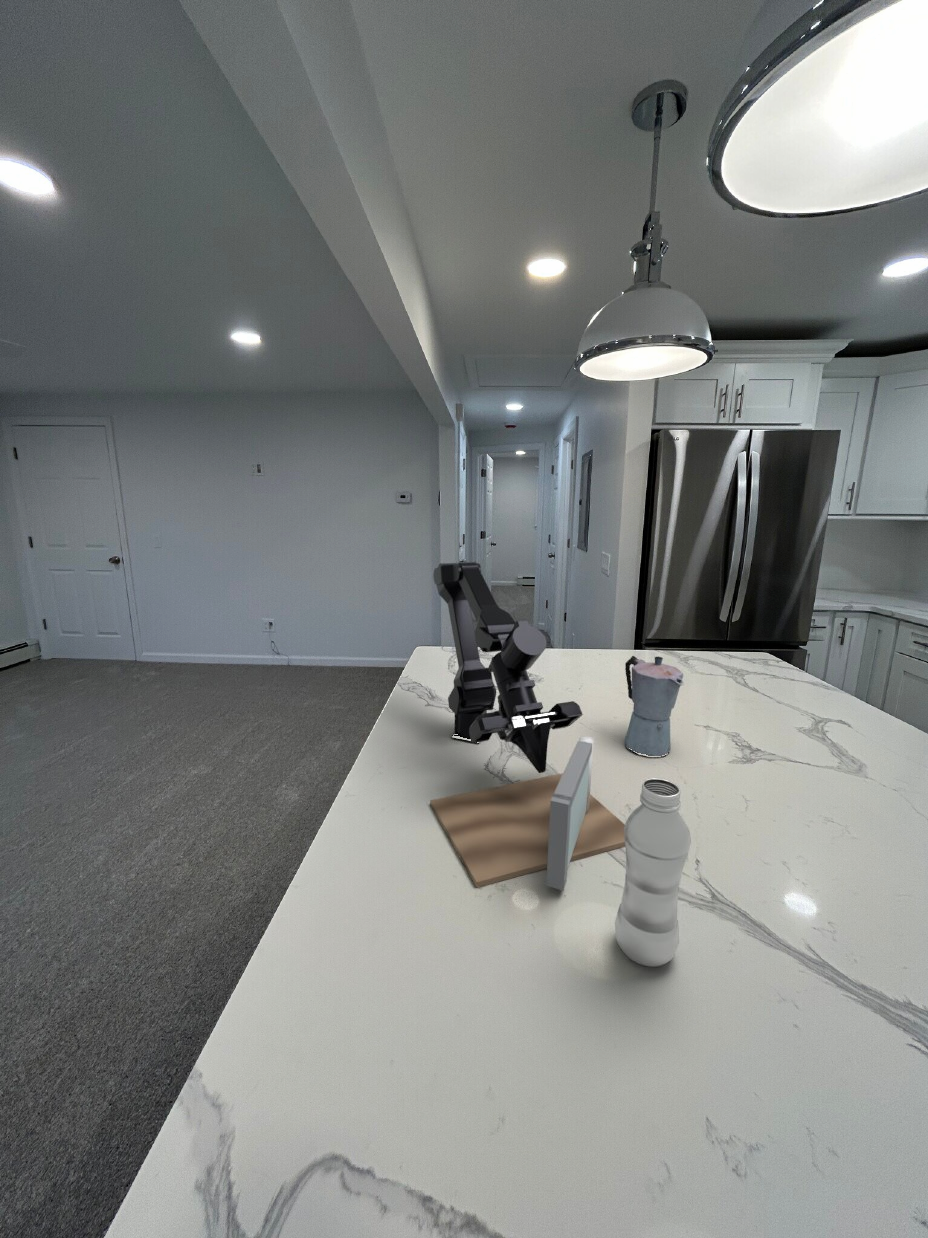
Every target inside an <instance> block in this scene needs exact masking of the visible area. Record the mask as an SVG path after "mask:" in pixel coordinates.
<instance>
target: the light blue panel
mask: <svg viewBox="0 0 928 1238" xmlns="http://www.w3.org/2000/svg"><path fill="white" fill-rule="evenodd" d="M594 742H595V741H594V738H593V737H590V736H585V735H584V736H583V735H582V736H580V737H579V738H578V740H577V742H576V745H575V746H574V748H573V751H572V753H571V755H570V756H569V757H570V758H569V759H568V762H567V764H566V766H565V767H564V771H563V772H562V773H563V775H562V777H561V779H560V781H559V783H558V786H557V788H556V790H555V792H554V794H553V796H552V799H551V803H550V823H549V843H548V864H547V868H546V884H545V886H547V887H549V888H554V889H557V890H560V891H565V887H566V884H567V882H568V881H567V880H568V879H567V877H568V869H569V865H570V863H571V862H570V859H571V856H572V853H573V850H574V847H575V844H576V841H577V838H578V835H579V832H580V828H581V825H582V822H583V819H584V816H585V813H586V812H588V811H589V800H590V794H591V785H592V768H593V755H594V754H593V753H594Z"/></svg>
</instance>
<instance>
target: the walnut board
mask: <svg viewBox="0 0 928 1238" xmlns="http://www.w3.org/2000/svg"><path fill="white" fill-rule="evenodd" d="M562 775H563V772H562V773H557V774H553V775H548V776H543V777H538V778H533V779H528V780H523V781H519V782H512V783H509V784H504V785H500V786H499V785H498V786H494V787H489V788H484V789H479V790H475V791H469V792H464V793H460V794H455V795H451V796H446V797H440V798H435V799H431V800H430V801H429V803H430V804H429V805H430V807H431V809H432V810H433V812H434V814H435V816H436V818H437V820H438V821H439V823H440V825H441V827H442V828H443V830H444V832H445V834H446V835H447V837H448V839H449V841H450V843H451V844H452V846H453V848H454V851H455V852H456V853H457V855H458V857H459V859H460V861H461V862H462V864H463V866H464V868H465V869H466V872H467V873H468V875H469V877H470V878H471V880H472V882H473V884H474V886H475V887H476V888H480V887H483V886H485V887H486V886H488V885H492V884H495V883H499V882H503V881H506V880H510V879H513V878H516V877H520V876H523V875H526V874H531V873H535V872H539V871H542V870H545V869H546V870H547V864H548V843H549V823H550V803H551V799H552V796H553V794H554V792H555V790H556V788H557V786H558V783H559V781H560V779H561V777H562ZM624 833H625V823H624V822H623V821H622V820H621V819H619V818H618V817H617V816H616V815H615V814H614V813H613V812H611V811H610V810H609V809H608V808H607V807H606V806H604V804H602V803H601V801H599V800H598V799H596V797H594V796H593V795H592V794H591V793H590V800H589V811H588V812H586V813H585V816H584V819H583V822H582V825H581V828H580V832H579V835H578V838H577V841H576V844H575V847H574V850H573V853H572V856H571V859H570V863H571V862H574V861H577V860H582V859H584V858H589V857H591V856H595V855H599V854H602V853H603V854H604V853H606V852H610V851H613V850H618V849H621V848H624V847H625V835H624Z"/></svg>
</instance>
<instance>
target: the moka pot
mask: <svg viewBox="0 0 928 1238" xmlns="http://www.w3.org/2000/svg"><path fill="white" fill-rule="evenodd" d="M662 662H663V657H662V656H654V662H646V661H645V660H643V659H638V657H636V656H634V655H632V656H631V657H630V658H629V659H628V660H627V661H625V666H624V667H625V668H624V669H625V670H624V671H625V676H626V677H625V678H626V682H627V683H626V684H627V690H628V692H627V693H628V698H629V699H630V700H631V701H632V703H633V709H632V712H631V716H630V720H629V723H628V728H627V731H626V735H625V738H624V744H625V743H626V745H625V747H626V746H627V747H628V748H630V749H632V751H635V752H637V753H641V754H646V755H648V756H662V755H665V754H667V753H668V752H669V751H670V752H671V715H672V710H673V709H674V708H675V704H676V702H677V699H678V698H677V697H678V695H679V691H680V688H681V686H684V683H685V681H684V680H683V678H684V673H683V672H682V671H681V670H680V669H678V668H677V667H676V666H672V665H669V664H666V663H665V664H664V663H662ZM632 665H633V666H632ZM631 666H632V667H631ZM627 747H626V748H627ZM628 748H627V749H628ZM632 751H631V752H632Z"/></svg>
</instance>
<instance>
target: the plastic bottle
mask: <svg viewBox="0 0 928 1238" xmlns="http://www.w3.org/2000/svg"><path fill="white" fill-rule="evenodd" d="M639 801H640V805H639V806H637V807H636V808H635V809H634V810H633V811H631V813H630V814H629V815H628V817H627V820H626V821H625V823H624V824H625V833H624V835H625V877H624V878H625V879H624V885H623V890H622V891H623V892H622V896H621V901H620V903H619V905H618V909H617V912H616V916H615V920H614V931H615V939H616V941H617V942H616V943H617V945H618V946H619V948H620V949H621V950H622V952H623V953H624V954H625V955H626V956H627V957H628V958H629V959H630V960H631V961H633V962H635V963H637V964H639V965H642V966H644V967H650V968H653V967H654V968H656V967H661V966H664V965H665V964H667V963H668V962H670V961H672V959H673V958H674V957H675V955H676V952H677V949H678V946H679V943H680V927H679V926H680V925H679V920H678V903H679V902H678V900H679V899H678V898H679V893H680V892H679V891H680V885H681V881H682V875H683V871H684V867H685V865H686V862H687V861H686V860H687V859H688V855H689V852H690V848H691V844H692V836H691V832H690V828H689V826H688V824H687V823H686V821H685V819H684V818H683V816H682V815H681V814H680V812H679V810H680V809H681V789H680V786H678V785H677V784H676V783H674V782H672V781H670V780H667V779H663V778H658V777H655V778H654V777H653V778H648V779H645V780H643V782H642V785H641V793H640V796H639Z"/></svg>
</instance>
